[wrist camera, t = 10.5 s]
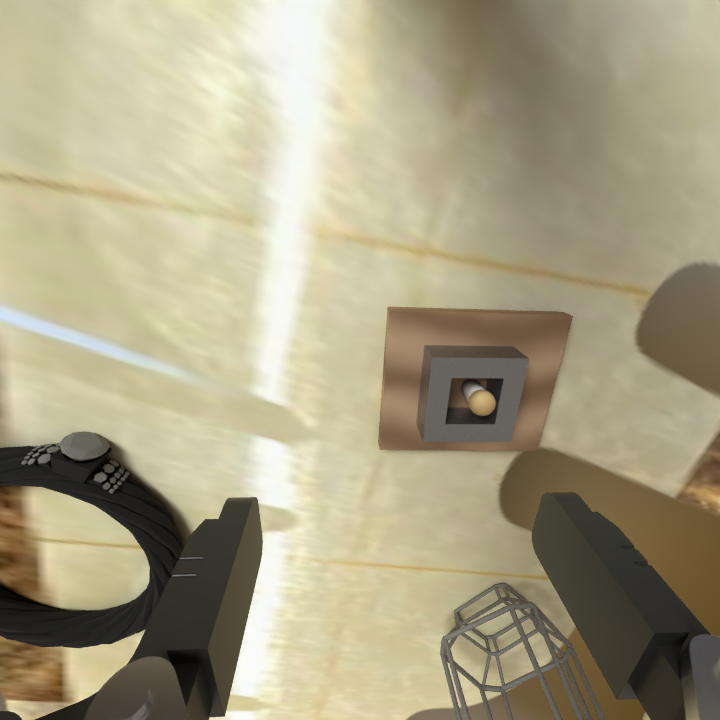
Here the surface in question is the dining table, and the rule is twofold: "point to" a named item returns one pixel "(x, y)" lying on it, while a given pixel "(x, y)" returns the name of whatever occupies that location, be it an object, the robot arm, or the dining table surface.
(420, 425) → the grey square frame
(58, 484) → the black studded ring
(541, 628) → the geometric lantern
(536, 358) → the keeper block
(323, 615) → the dining table surface
